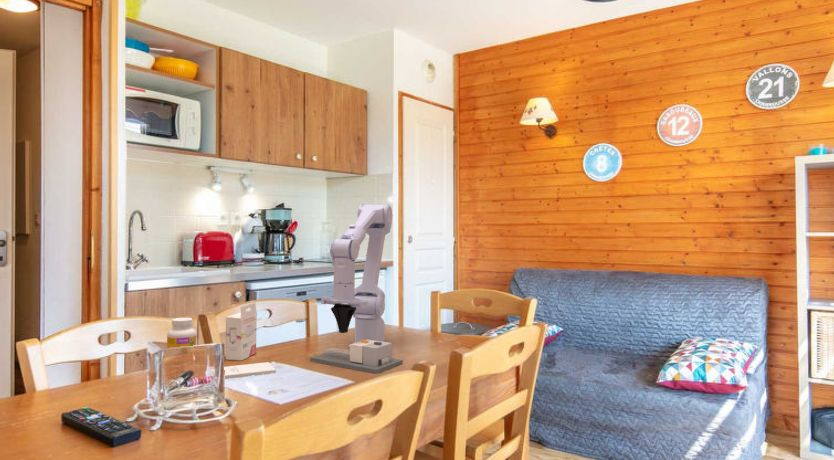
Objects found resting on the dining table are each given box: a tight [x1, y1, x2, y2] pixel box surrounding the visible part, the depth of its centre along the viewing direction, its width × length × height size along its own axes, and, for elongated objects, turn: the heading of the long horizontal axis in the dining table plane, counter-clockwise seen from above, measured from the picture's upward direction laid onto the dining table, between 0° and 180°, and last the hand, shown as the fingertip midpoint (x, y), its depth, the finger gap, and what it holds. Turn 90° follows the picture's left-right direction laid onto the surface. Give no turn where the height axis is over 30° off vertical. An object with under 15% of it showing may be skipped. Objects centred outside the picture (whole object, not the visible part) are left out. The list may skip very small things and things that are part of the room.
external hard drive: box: [223, 361, 277, 380], centre depth 135 cm, size 2×8×12 cm
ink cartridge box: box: [225, 302, 258, 361], centre depth 150 cm, size 9×5×15 cm, turn 168°
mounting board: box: [309, 352, 404, 375], centre depth 146 cm, size 12×22×1 cm, turn 59°
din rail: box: [324, 347, 389, 365], centre depth 146 cm, size 4×19×2 cm, turn 59°
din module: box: [349, 340, 379, 363], centre depth 145 cm, size 8×4×5 cm, turn 149°
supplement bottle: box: [166, 317, 197, 348], centre depth 136 cm, size 7×7×13 cm
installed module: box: [363, 341, 393, 367], centre depth 143 cm, size 8×4×5 cm, turn 149°
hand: (343, 332), depth 149 cm, fingers closed
